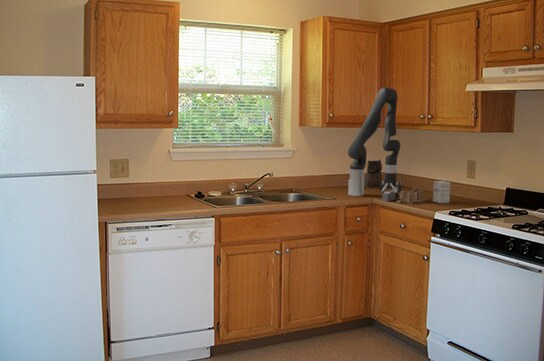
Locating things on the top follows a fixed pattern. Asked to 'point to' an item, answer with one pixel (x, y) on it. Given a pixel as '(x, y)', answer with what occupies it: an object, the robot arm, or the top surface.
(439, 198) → the supplement box
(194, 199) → the top surface
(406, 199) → the display stand
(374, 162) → the owl
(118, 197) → the top surface
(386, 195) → the frame bar
